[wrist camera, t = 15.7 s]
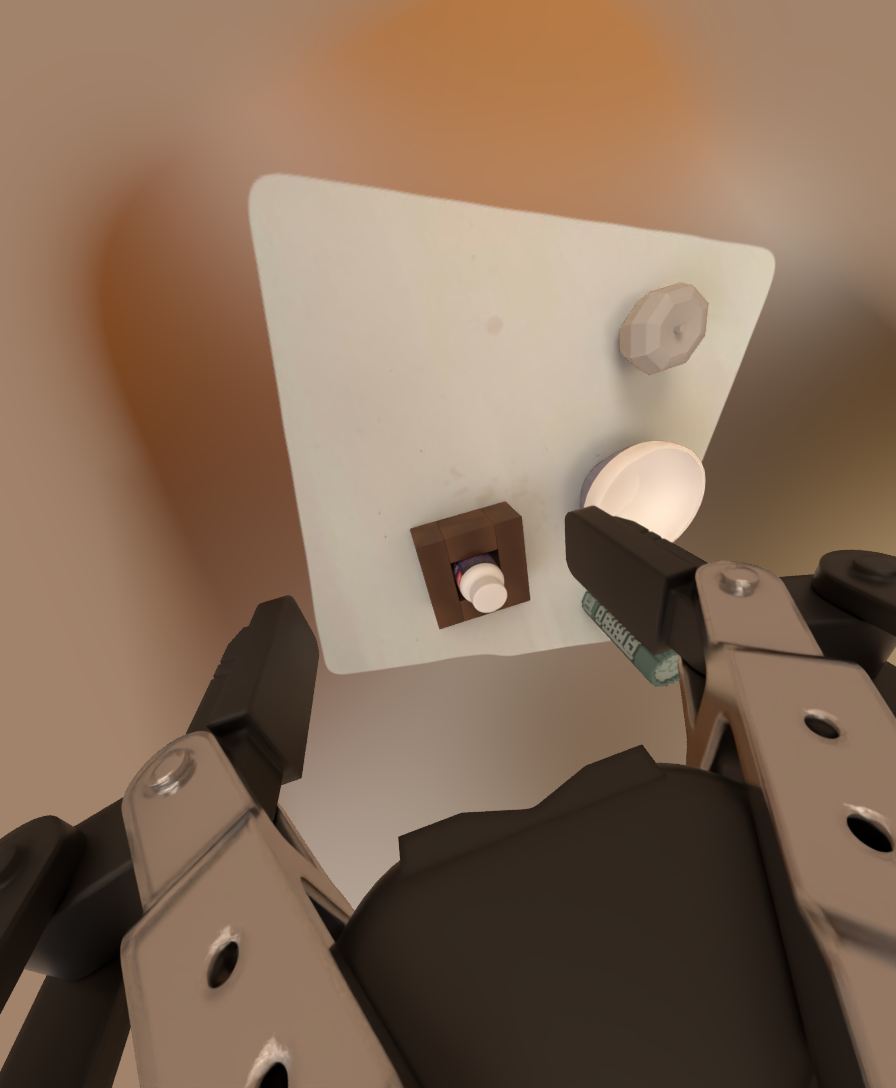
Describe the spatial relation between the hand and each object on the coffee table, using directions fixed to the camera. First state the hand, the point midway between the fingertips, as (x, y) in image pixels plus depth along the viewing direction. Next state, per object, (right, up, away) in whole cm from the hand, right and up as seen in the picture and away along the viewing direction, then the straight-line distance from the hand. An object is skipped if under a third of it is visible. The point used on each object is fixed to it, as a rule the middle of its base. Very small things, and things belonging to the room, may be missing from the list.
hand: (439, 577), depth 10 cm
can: (+25, -8, +45) cm, 52 cm away
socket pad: (+3, -1, +36) cm, 36 cm away
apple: (+21, +24, +28) cm, 42 cm away
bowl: (+22, +9, +36) cm, 43 cm away
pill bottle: (+3, -1, +36) cm, 36 cm away
